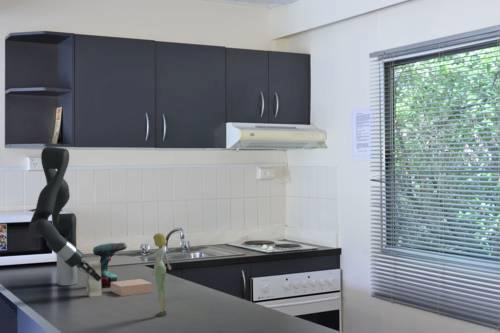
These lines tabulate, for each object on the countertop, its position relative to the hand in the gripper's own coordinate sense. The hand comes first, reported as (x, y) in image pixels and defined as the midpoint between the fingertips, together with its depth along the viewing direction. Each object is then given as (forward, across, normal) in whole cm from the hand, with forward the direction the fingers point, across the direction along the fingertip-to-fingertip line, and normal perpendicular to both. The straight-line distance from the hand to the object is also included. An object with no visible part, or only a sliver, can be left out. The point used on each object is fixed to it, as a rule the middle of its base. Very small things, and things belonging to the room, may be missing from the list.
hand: (96, 278), depth 299 cm
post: (+4, 0, +6) cm, 7 cm away
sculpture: (+11, -54, 0) cm, 55 cm away
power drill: (+13, +17, -3) cm, 22 cm away
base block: (+15, -2, -5) cm, 16 cm away
